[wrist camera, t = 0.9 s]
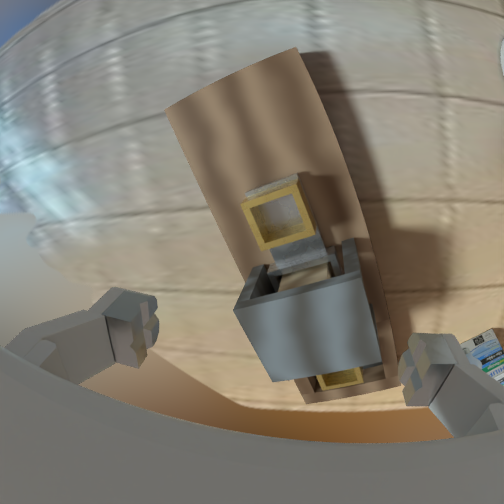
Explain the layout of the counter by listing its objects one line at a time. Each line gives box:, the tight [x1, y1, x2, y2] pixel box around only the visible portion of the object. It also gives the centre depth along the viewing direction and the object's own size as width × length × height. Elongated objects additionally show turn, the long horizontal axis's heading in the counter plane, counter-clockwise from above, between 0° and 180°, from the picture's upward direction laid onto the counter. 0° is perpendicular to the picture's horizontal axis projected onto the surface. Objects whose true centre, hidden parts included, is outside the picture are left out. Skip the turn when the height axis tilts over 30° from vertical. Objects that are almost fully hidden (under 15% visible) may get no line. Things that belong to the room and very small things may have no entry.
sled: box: [240, 173, 364, 391], centre depth 40 cm, size 9×32×4 cm, turn 24°
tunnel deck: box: [165, 47, 401, 404], centre depth 38 cm, size 18×54×14 cm, turn 24°
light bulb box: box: [460, 329, 504, 386], centre depth 40 cm, size 11×7×11 cm, turn 124°
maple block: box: [278, 262, 334, 292], centre depth 39 cm, size 6×9×6 cm, turn 24°
